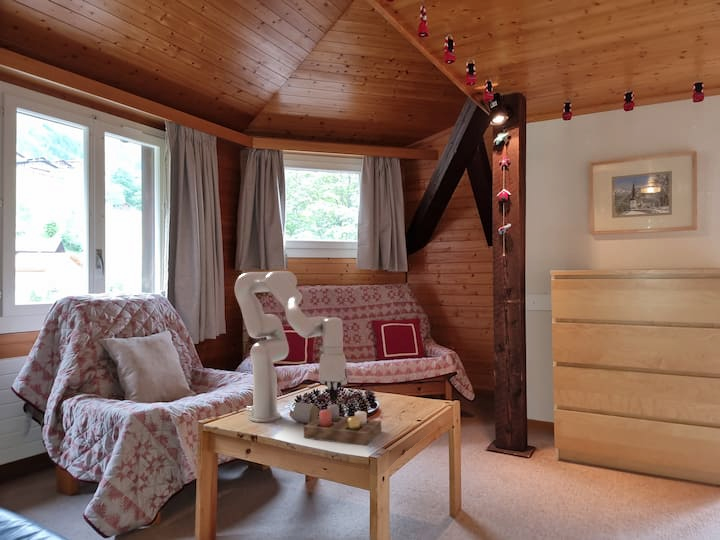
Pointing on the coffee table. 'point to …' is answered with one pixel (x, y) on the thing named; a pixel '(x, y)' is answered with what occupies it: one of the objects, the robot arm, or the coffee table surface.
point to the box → (343, 431)
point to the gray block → (334, 412)
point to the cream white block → (362, 417)
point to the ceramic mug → (305, 412)
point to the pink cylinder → (325, 418)
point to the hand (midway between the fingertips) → (333, 399)
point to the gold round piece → (354, 423)
